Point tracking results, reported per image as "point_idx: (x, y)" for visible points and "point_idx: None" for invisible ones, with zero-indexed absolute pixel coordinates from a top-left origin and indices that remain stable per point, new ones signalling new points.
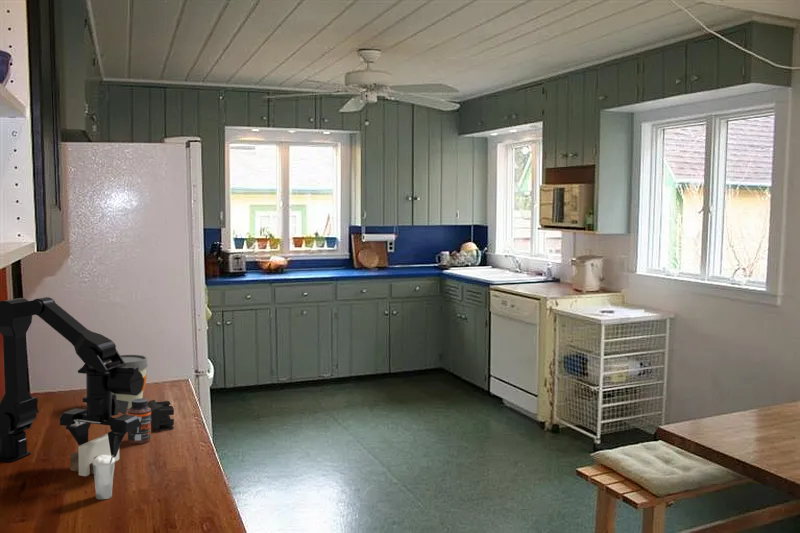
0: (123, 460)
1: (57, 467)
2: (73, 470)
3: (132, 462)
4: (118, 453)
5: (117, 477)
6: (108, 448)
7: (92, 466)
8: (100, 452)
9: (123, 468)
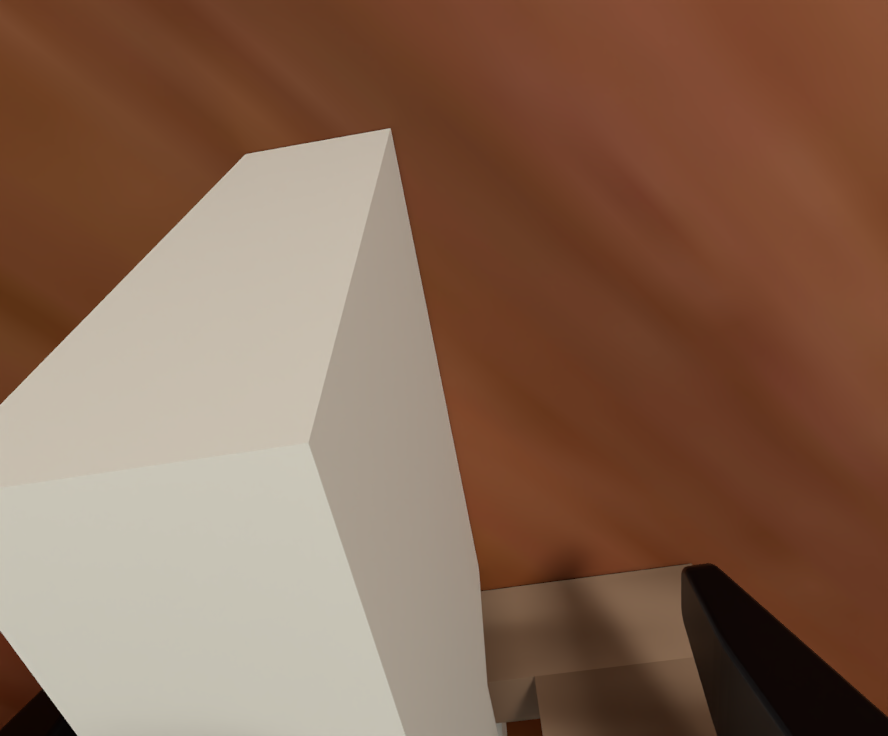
0: (492, 125)
1: (13, 670)
2: None
3: (713, 118)
4: (388, 188)
5: (849, 581)
6: (448, 581)
7: (516, 709)
8: (480, 726)
9: (740, 374)
